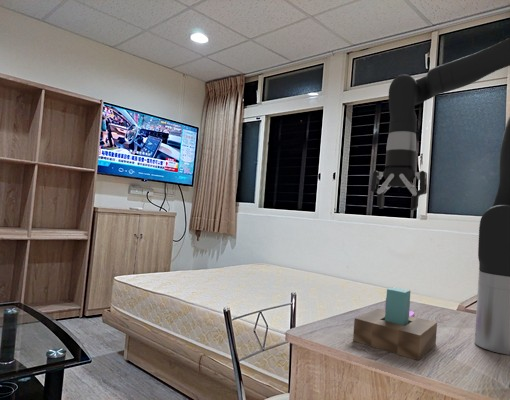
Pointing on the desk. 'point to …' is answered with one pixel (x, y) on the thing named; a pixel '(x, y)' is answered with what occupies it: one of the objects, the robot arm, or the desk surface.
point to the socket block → (395, 334)
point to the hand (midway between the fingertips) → (396, 209)
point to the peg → (397, 306)
